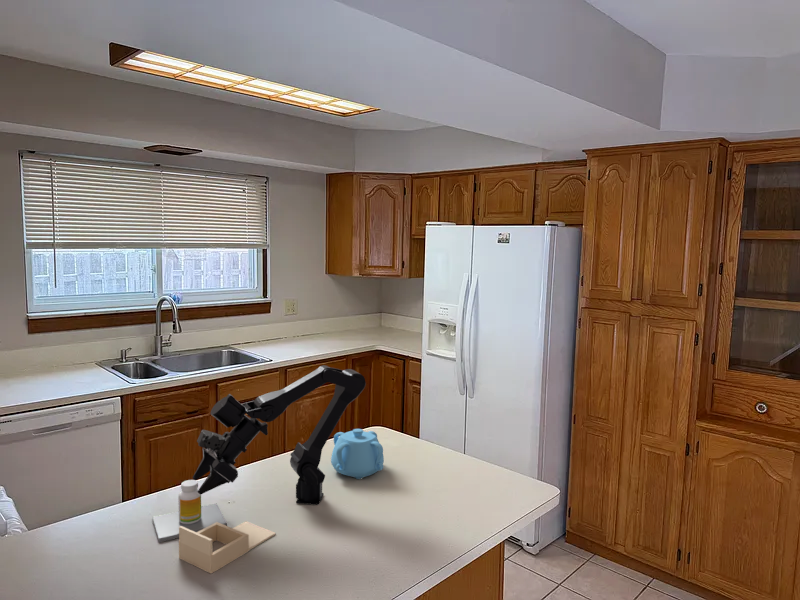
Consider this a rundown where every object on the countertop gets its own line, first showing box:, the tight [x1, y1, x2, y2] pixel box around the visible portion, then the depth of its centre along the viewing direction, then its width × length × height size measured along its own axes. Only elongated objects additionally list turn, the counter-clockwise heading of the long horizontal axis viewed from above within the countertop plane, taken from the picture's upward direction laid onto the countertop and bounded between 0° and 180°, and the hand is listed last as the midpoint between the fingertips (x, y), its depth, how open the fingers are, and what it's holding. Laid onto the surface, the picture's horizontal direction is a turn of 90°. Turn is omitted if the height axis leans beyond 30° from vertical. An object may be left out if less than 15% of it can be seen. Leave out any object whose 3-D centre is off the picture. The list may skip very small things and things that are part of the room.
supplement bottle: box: [177, 479, 202, 524], centre depth 143 cm, size 5×5×10 cm
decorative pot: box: [330, 428, 385, 480], centre depth 178 cm, size 16×16×14 cm
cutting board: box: [152, 503, 228, 543], centre depth 144 cm, size 16×12×1 cm
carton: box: [178, 521, 276, 574], centre depth 133 cm, size 20×11×8 cm, turn 148°
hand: (196, 485), depth 144 cm, fingers open, 9 cm apart
